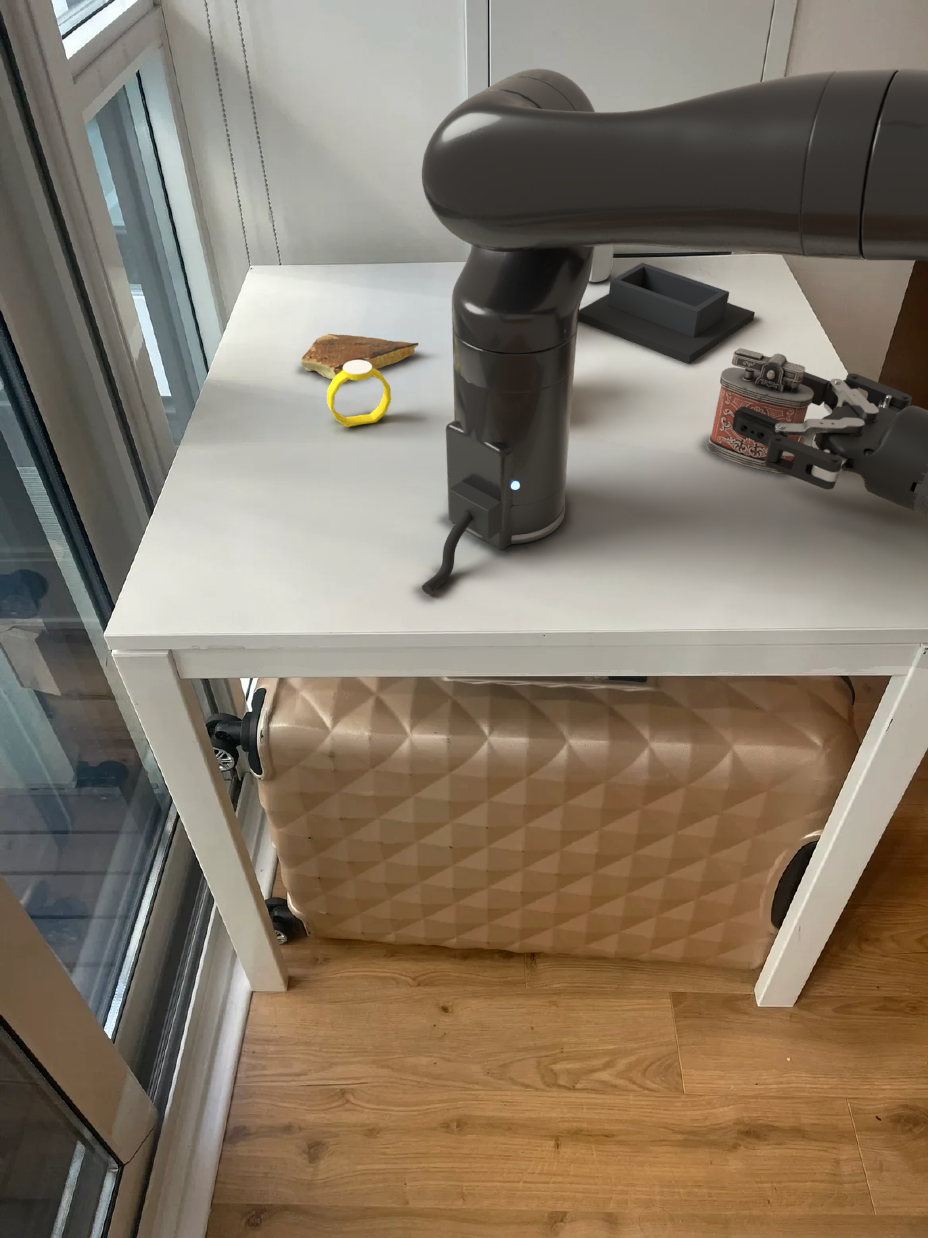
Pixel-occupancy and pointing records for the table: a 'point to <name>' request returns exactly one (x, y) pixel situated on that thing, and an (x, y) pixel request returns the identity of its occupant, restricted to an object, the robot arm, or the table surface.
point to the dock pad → (666, 312)
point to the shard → (353, 353)
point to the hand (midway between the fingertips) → (761, 397)
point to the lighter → (757, 403)
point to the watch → (358, 372)
